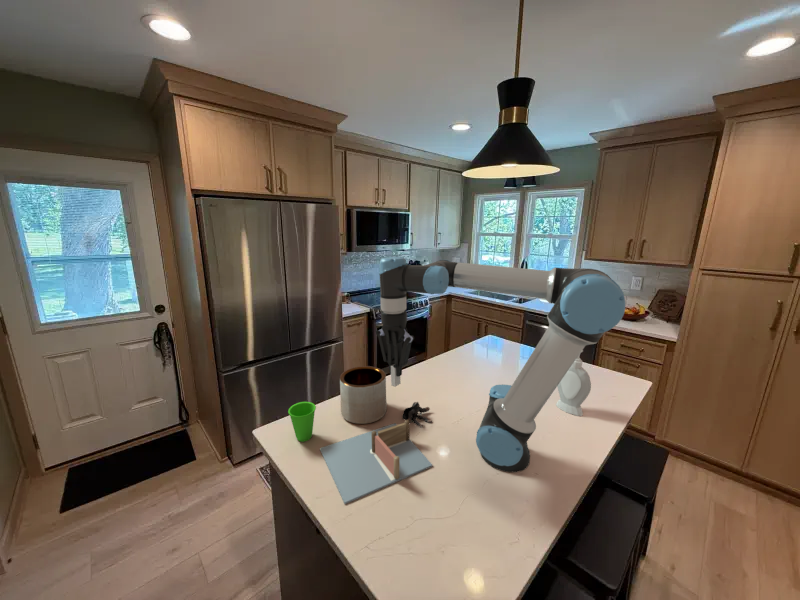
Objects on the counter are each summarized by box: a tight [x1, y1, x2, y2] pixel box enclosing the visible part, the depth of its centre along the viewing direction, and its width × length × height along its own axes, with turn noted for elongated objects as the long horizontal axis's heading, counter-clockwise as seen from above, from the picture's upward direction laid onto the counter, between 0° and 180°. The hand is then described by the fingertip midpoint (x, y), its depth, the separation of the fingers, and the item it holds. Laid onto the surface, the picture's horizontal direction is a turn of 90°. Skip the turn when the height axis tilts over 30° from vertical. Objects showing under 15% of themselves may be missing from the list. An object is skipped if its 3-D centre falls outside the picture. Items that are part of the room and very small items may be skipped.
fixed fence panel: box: [371, 420, 411, 453], centre depth 106 cm, size 2×14×8 cm, turn 119°
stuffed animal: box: [401, 401, 433, 428], centre depth 124 cm, size 12×10×12 cm
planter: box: [339, 365, 388, 425], centre depth 124 cm, size 18×18×16 cm
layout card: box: [319, 422, 433, 505], centre depth 101 cm, size 24×28×1 cm
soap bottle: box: [556, 349, 592, 417], centre depth 125 cm, size 13×8×24 cm, turn 39°
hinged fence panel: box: [375, 435, 399, 479], centre depth 96 cm, size 13×2×6 cm, turn 33°
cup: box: [287, 401, 317, 443], centre depth 110 cm, size 9×9×11 cm
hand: (395, 384), depth 99 cm, fingers closed
